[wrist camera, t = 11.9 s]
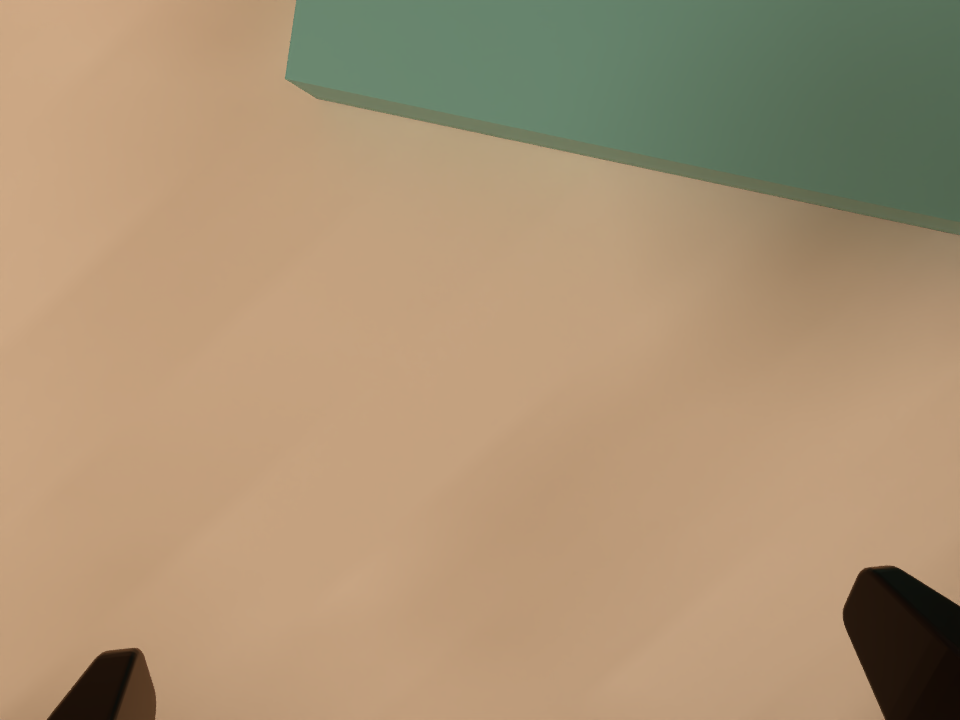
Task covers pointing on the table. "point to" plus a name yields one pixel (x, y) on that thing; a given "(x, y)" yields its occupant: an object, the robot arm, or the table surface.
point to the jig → (674, 87)
